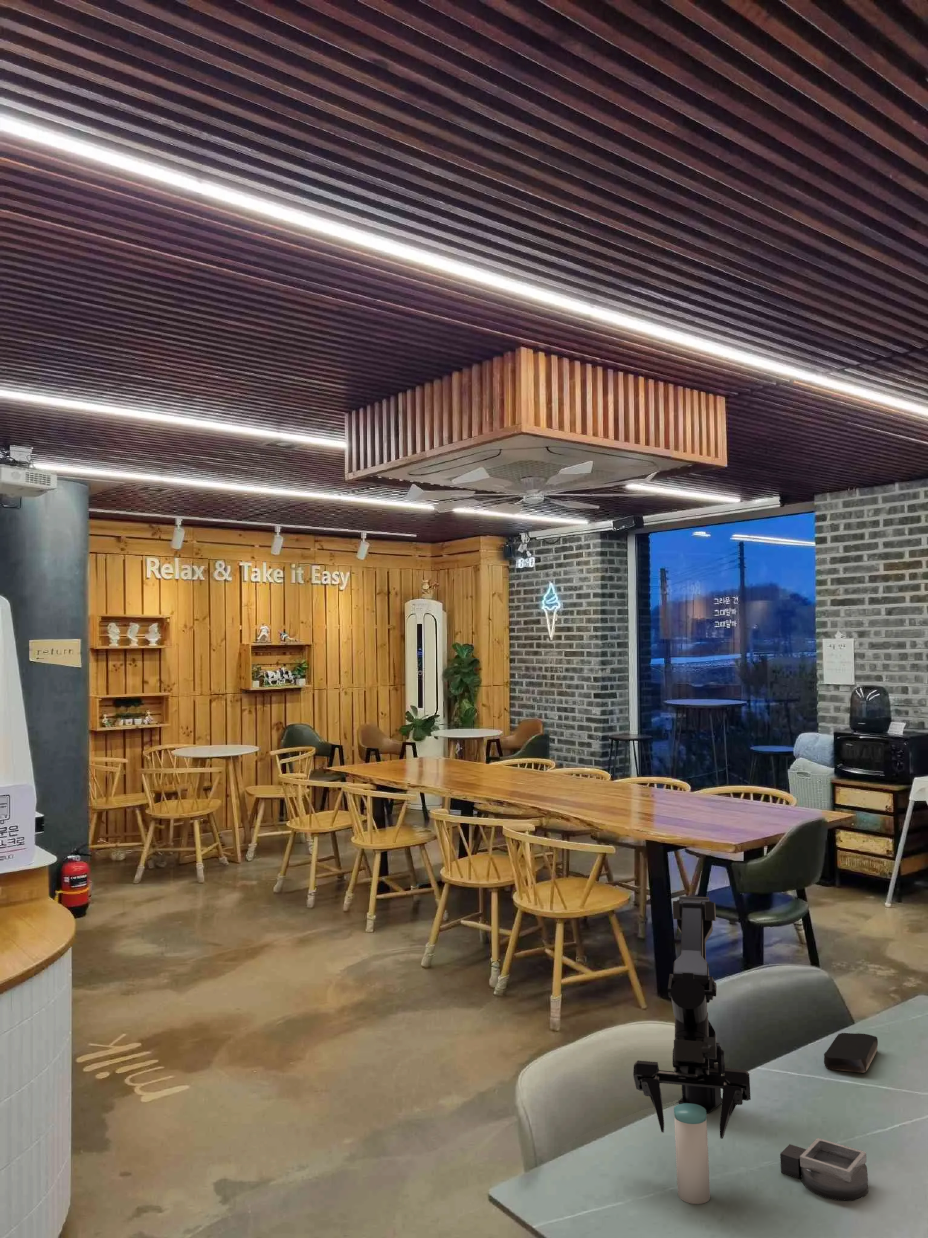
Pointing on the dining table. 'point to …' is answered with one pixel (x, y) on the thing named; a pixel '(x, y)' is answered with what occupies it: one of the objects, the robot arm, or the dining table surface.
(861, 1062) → the black sponge
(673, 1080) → the robot arm
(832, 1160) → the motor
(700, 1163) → the beige teal capped bottle
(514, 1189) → the dining table surface
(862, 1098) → the dining table surface
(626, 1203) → the dining table surface
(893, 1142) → the dining table surface
